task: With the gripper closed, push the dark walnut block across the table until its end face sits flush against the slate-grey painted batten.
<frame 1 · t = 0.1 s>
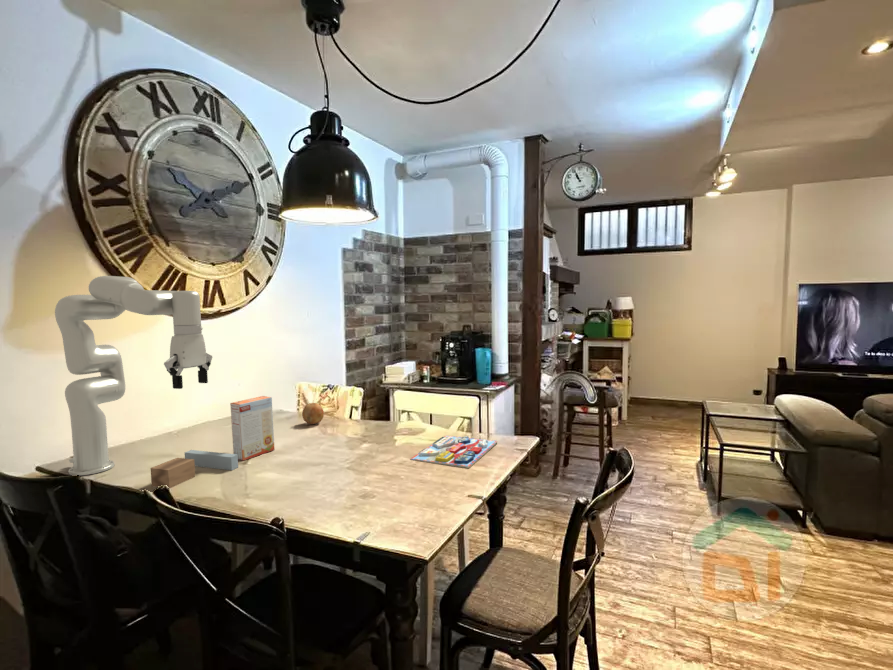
hand: (190, 385, 146), 31 cm above the table, fingers open, 9 cm apart
cracker box: (254, 454, 175), on the table
batten: (211, 466, 163), on the table
puzzle board: (455, 453, 176), on the table
walnut block: (174, 481, 150), on the table
onion: (313, 424, 218), on the table
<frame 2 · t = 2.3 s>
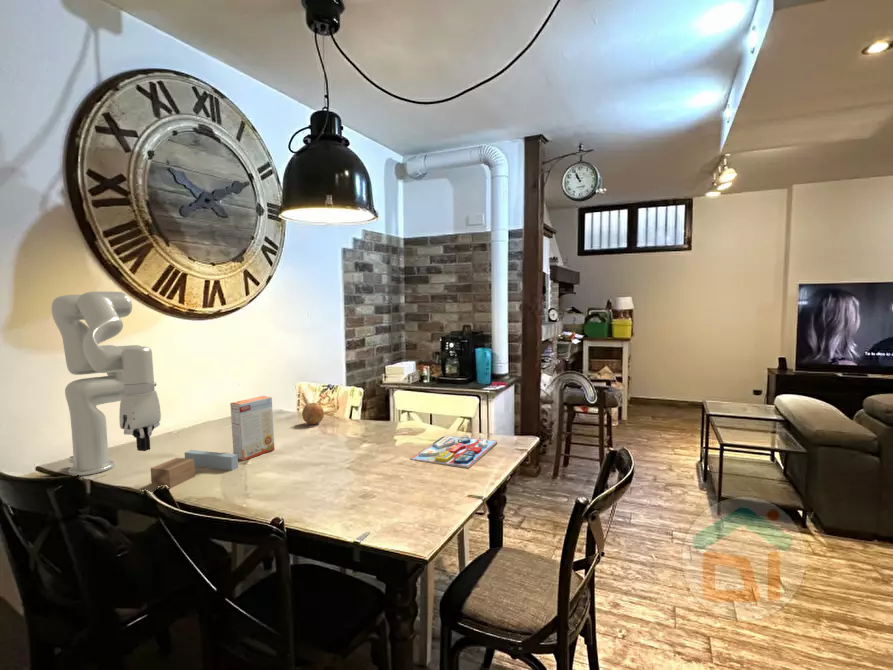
hand: (143, 449, 139), 13 cm above the table, fingers closed
nothing on the table moved.
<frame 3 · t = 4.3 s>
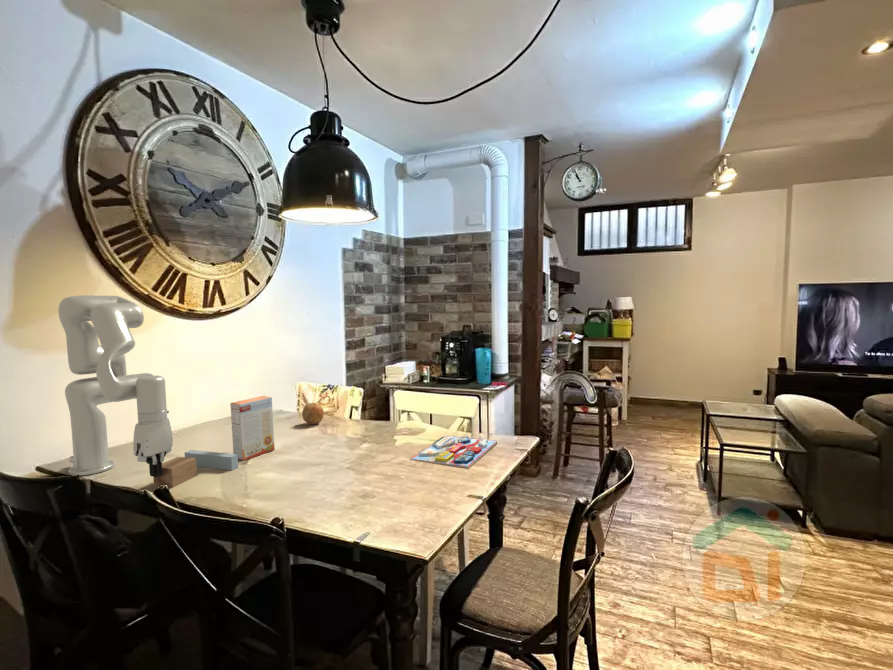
hand: (156, 475, 143), 4 cm above the table, fingers closed
walnut block: (175, 480, 150), on the table, touching gripper
everything else where it was.
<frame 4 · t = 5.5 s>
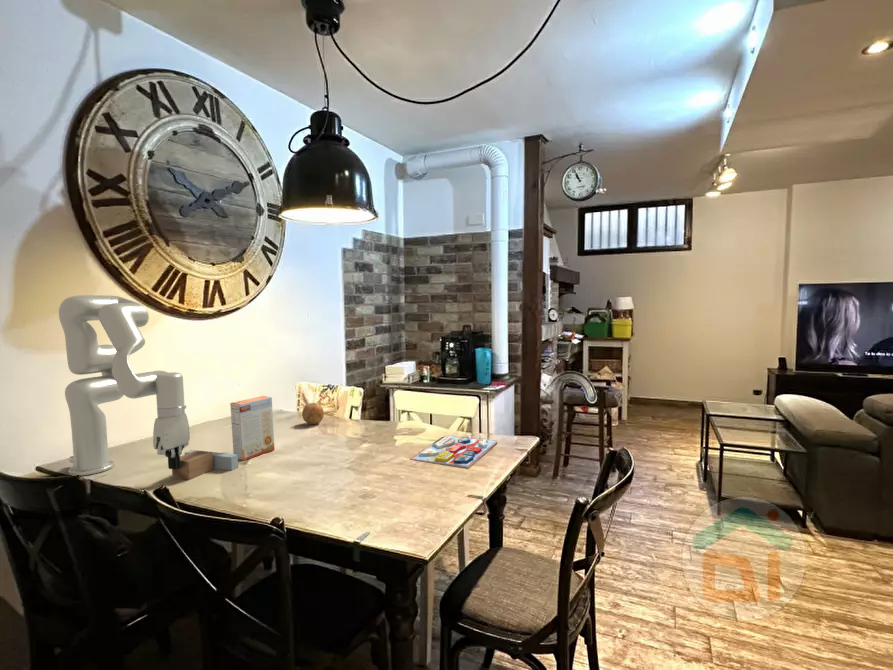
hand: (174, 468, 150), 4 cm above the table, fingers closed
walnut block: (193, 473, 156), on the table, touching gripper
everything else where it was.
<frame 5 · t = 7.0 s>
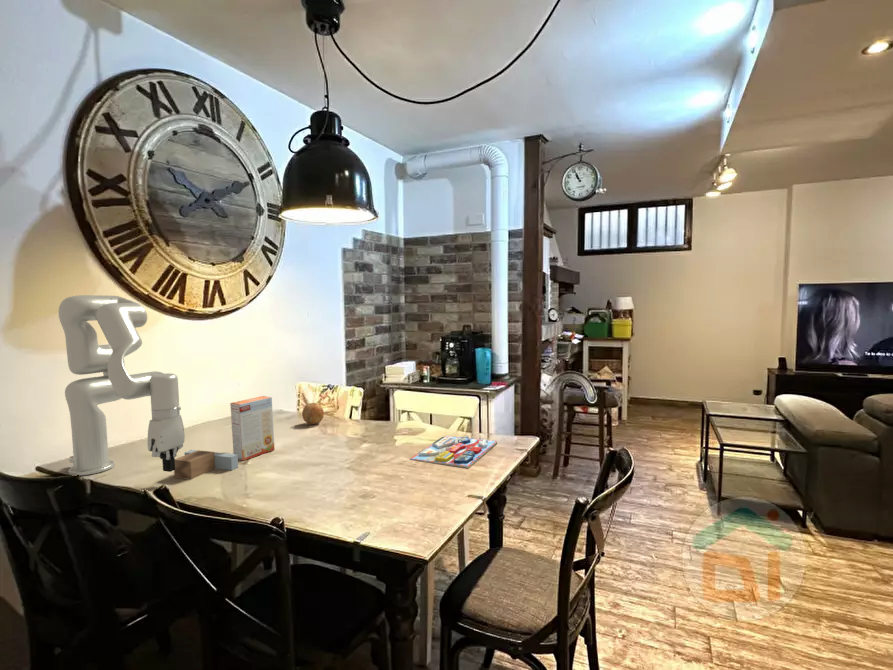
hand: (169, 470, 148), 4 cm above the table, fingers closed
walnut block: (195, 473, 157), on the table
everything else where it was.
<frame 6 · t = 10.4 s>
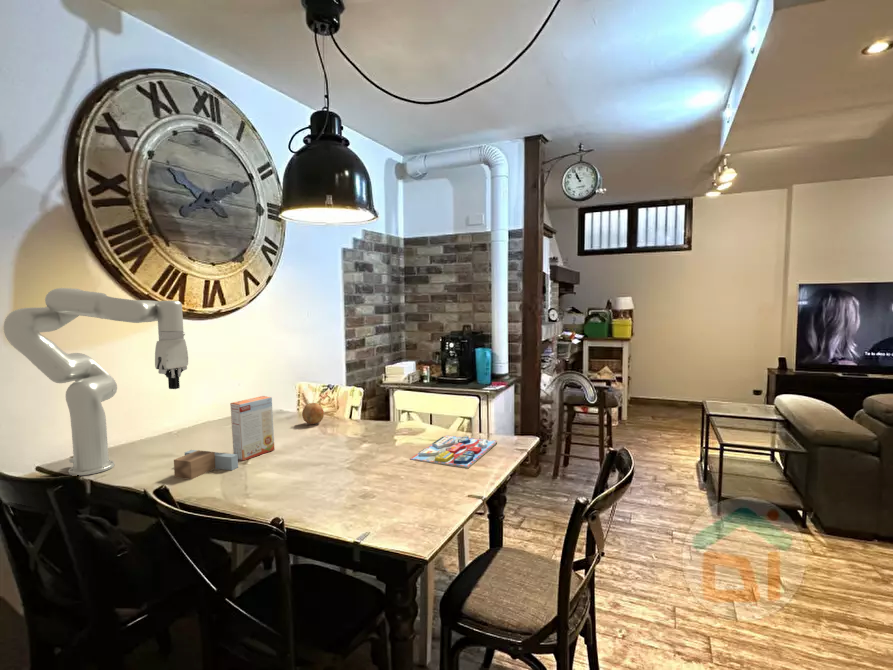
hand: (174, 388, 163), 27 cm above the table, fingers closed
nothing on the table moved.
at the end: walnut block 0.6 cm from the target spot on the table beside the batten, on the table; walnut block tilted 0° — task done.
